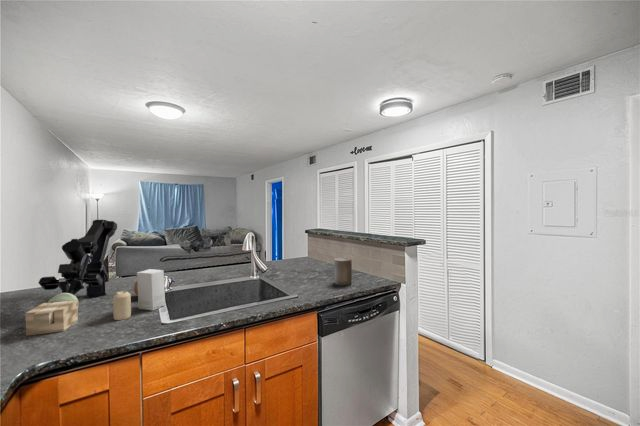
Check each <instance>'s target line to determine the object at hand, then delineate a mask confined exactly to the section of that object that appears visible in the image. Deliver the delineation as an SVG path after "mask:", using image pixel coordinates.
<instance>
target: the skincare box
mask: <svg viewBox="0 0 640 426" xmlns="http://www.w3.org/2000/svg"><path fill="white" fill-rule="evenodd" d="M164 275H165V273H164V269H155V268H154V269H153V268H148V269H145V270H141V271H137V272H136V281H137V287H138V295H137V300H138V301H137V302H138V309H140V310H145V311H155V310H158V309H160V308H159V307H161V306H163V307H164V305H165V306H166V294H165V292H166V291H165V276H164ZM161 308H162V307H161Z"/></svg>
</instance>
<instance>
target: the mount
mask: <svg viewBox="0 0 640 426" xmlns="http://www.w3.org/2000/svg"><path fill="white" fill-rule="evenodd" d="M78 301H79V299H78V300H71V301H68V302H66V303H65V304H63V305H62V306H60V307H59V308H57V309H56V310H54V322H52V323H51V324H49V325H42V326H34V319H33V314H35V313H36V312H38V311H40V310H42V309H43V308H45V307H47V306H48V305H50V304H52V302H49V303H48V302H43V303H41V304H39V305H37V306H36V307H34V308H32V309H29V311H27V312H25V336H34V335H41V334H42V335H43V334H51V333H59V332H65V331H66V330H67V329H68V328H69V327H71V326H72V325H74V323H76V322H77V321H78V320H79V309H78V308H79V306H78Z"/></svg>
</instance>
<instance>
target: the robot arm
mask: <svg viewBox="0 0 640 426" xmlns="http://www.w3.org/2000/svg"><path fill="white" fill-rule="evenodd" d="M117 229H118V224H117V222H115V221H113V220H111V221H110V220H107V219H93V220H92V223H91V225H90V227H89V229H87V230H88V231H86V233H85V235H84V236H83V237H80V238H71V240H70V241H68V242H67V241H66V242H65V243H64V244H62V246H61V250H62V251H63V252H64V254H65V256H66V257H67V259H68V260H70V263H60V264H59V266H58V269H57V274H60V276H61V278H60V277H59V278H58V279H57V278H56V277H55V276H54V275H53V276H43V277H41V278H40V279H39V280H38V283H37V284H38V285H40V287H41V288H42V289H43V290H45V291H51V290H53V291H54V290H56V289H58V288H59V289H60V290H61V293H70V294H73V295H75V294H77V293H78V292H80V291H81V290H83V289H85V296H86V297H87V298H88V299H91V298H97V297H102V296H107V293H106V283H108V282H109V279H110V275H109V273H108V272H107V269H106V267H105V265H104V261H105V259H106V258H105V257H106V254H107V249H108V246H109V241H110V238H111V237H113V236H114V235H115V233H116V231H117ZM89 254H90V255H92V257H91V256H90V255H89ZM85 285H86V286H85Z"/></svg>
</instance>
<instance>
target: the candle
mask: <svg viewBox="0 0 640 426" xmlns="http://www.w3.org/2000/svg"><path fill="white" fill-rule="evenodd" d="M131 297H132V294H131V293H130V292H128V291H127V290H121V291H117V292H116V293H115V294H114V295H113V297H112V298H113V299H112V306H113V310H112V311H113V314H112V315H113V319H114V321H122V320H126V319H129V318H130V317H131V316H132V301H131V299H132V298H131Z"/></svg>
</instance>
